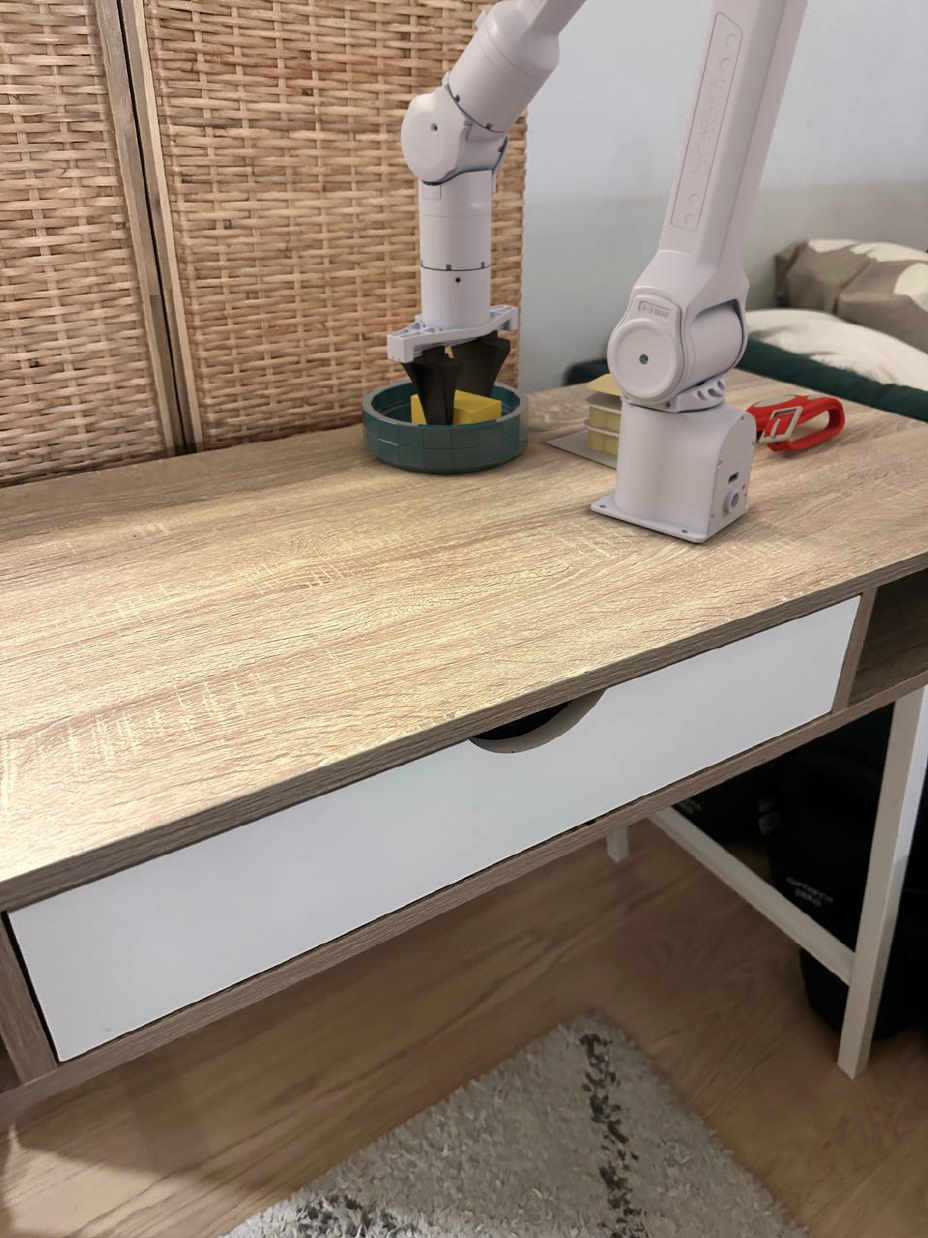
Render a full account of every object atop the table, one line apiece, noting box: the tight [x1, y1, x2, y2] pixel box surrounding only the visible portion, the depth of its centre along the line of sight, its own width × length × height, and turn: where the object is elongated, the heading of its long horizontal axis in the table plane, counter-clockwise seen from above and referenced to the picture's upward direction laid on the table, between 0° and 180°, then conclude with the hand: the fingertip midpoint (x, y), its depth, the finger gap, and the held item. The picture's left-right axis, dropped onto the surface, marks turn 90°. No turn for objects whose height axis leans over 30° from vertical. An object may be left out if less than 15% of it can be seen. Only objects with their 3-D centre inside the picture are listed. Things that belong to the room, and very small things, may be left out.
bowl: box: [361, 379, 530, 474], centre depth 84 cm, size 15×15×4 cm
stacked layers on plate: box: [544, 373, 622, 470], centre depth 83 cm, size 10×9×6 cm
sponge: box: [411, 390, 501, 425], centre depth 83 cm, size 7×4×4 cm, turn 50°
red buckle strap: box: [745, 393, 846, 453], centre depth 85 cm, size 12×4×10 cm
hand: (456, 427), depth 83 cm, fingers closed on sponge, 4 cm apart
